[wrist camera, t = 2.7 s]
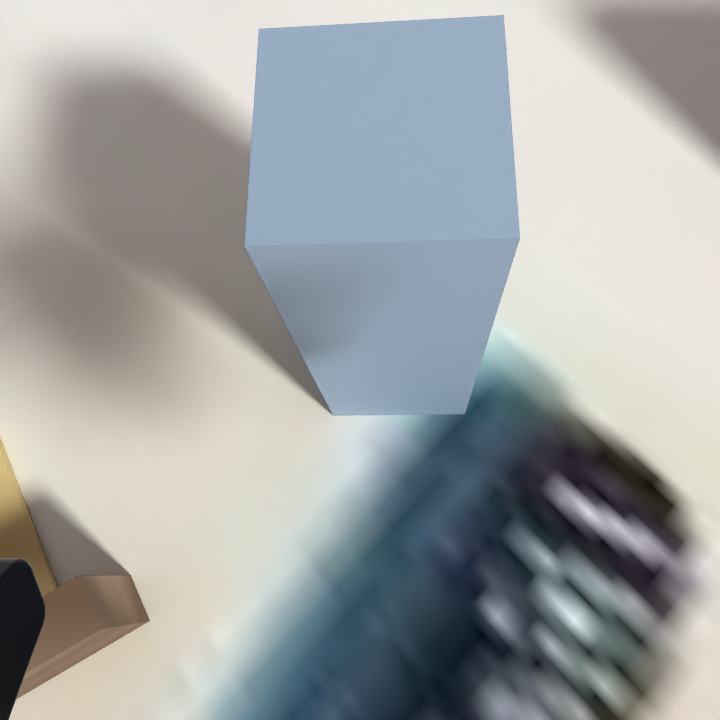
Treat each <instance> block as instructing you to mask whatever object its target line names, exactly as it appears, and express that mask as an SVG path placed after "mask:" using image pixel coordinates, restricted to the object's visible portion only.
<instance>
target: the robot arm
mask: <svg viewBox="0 0 720 720" xmlns="http://www.w3.org/2000/svg"><path fill="white" fill-rule="evenodd" d="M44 619H45V603H44V600H43V597H42V594H41V591H40V589H39V586H38V583H37V580H36V578H35V575H34V572H33V570H32V567H31V565H30V563H29V562H27V561H26V560H25V559H21V558H0V720H9V717H10V714H11V711H12V709H13V706H14V703H15V700H16V698H17V695H18V692H19V689H20V687H21V684H22V681H23V679H24V676H25V673H26V670H27V668H28V665H29V662H30V659H31V657H32V654H33V651H34V648H35V646H36V643H37V640H38V638H39V635H40V632H41V629H42V627H43V623H44Z"/></svg>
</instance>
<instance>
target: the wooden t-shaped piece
mask: <svg viewBox="0 0 720 720" xmlns="http://www.w3.org/2000/svg"><path fill="white" fill-rule="evenodd" d="M0 558H21V559H25V560H26V561H27V562H29V563H30V565H31V567H32V570H33V572H34V575H35V578H36V580H37V583H38V586H39V589H40V591H41V594H42V597H43V600H44V603H45V619H44V623H43V627H42V629H41V632H40V635H39V638H38V640H37V643H36V646H35V648H34V651H33V654H32V657H31V659H30V662H29V665H28V668H27V670H26V673H25V676H24V679H23V681H22V684H21V687H20V689H19V692H18V695H17V698H19V697H21V696H22V695H24V694H26V693H27V692H29V691H31V690H32V689H34V688H36V687H38V686H39V685H41V684H43V683H44V682H46V681H48V680H50V679H51V678H53V677H55V676H56V675H58V674H60V673H61V672H63V671H65V670H67V669H68V668H70V667H72V666H73V665H75V664H77V663H79V662H80V661H82V660H84V659H85V658H87V657H89V656H90V655H92V654H94V653H96V652H97V651H99V650H101V649H102V648H104V647H106V646H108V645H109V644H111V643H113V642H114V641H116V640H118V639H119V638H121V637H123V636H125V635H126V634H128V633H130V632H131V631H133V630H135V629H137V628H138V627H140V626H142V625H143V624H145V623H147V622H148V621H150V620H149V618H148V615H147V613H146V611H145V608H144V606H143V604H142V601H141V599H140V596H139V594H138V592H137V589H136V587H135V585H134V582H133V580H132V578H131V575H84V576H77V577H76V578H74V579H72V580H70V581H69V582H67V583H65V584H63V585H62V586H60V587H57V585H56V582H55V579H54V577H53V574H52V572H51V569H50V566H49V564H48V561H47V559H46V556H45V553H44V551H43V548H42V546H41V543H40V540H39V538H38V535H37V533H36V530H35V527H34V525H33V522H32V520H31V517H30V514H29V512H28V509H27V507H26V504H25V501H24V499H23V496H22V494H21V491H20V488H19V486H18V483H17V481H16V478H15V475H14V473H13V470H12V468H11V465H10V462H9V460H8V457H7V455H6V452H5V449H4V447H3V444H2V442H1V439H0ZM17 698H16V699H17Z"/></svg>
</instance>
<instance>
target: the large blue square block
mask: <svg viewBox="0 0 720 720" xmlns="http://www.w3.org/2000/svg"><path fill="white" fill-rule="evenodd" d="M519 239H520V232H519V219H518V205H517V191H516V178H515V164H514V150H513V137H512V123H511V109H510V96H509V82H508V68H507V55H506V41H505V27H504V15H498V16H480V17H463V18H445V19H427V20H409V21H391V22H374V23H356V24H338V25H320V26H303V27H285V28H267V29H259V36H258V50H257V65H256V80H255V95H254V110H253V125H252V139H251V154H250V169H249V184H248V199H247V214H246V228H245V243H244V247H245V249H246V251H247V252H248V254H249V256H250V258H251V260H252V262H253V264H254V266H255V268H256V270H257V272H258V273H259V275H260V277H261V279H262V281H263V283H264V285H265V287H266V289H267V291H268V293H269V294H270V296H271V298H272V300H273V302H274V304H275V306H276V308H277V310H278V312H279V313H280V315H281V317H282V319H283V321H284V323H285V325H286V327H287V329H288V331H289V333H290V334H291V336H292V338H293V340H294V342H295V344H296V346H297V348H298V350H299V352H300V354H301V355H302V357H303V359H304V361H305V363H306V365H307V367H308V369H309V371H310V373H311V375H312V376H313V378H314V380H315V382H316V384H317V386H318V388H319V390H320V392H321V394H322V395H323V397H324V399H325V401H326V403H327V405H328V407H329V409H330V411H331V413H332V415H422V414H465V411H466V408H467V405H468V402H469V399H470V395H471V392H472V389H473V386H474V383H475V380H476V376H477V373H478V370H479V367H480V364H481V360H482V357H483V354H484V351H485V348H486V344H487V341H488V338H489V335H490V332H491V329H492V325H493V322H494V319H495V316H496V313H497V309H498V306H499V303H500V300H501V297H502V293H503V290H504V287H505V284H506V281H507V278H508V274H509V271H510V268H511V265H512V262H513V258H514V255H515V252H516V249H517V246H518V242H519Z"/></svg>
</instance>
